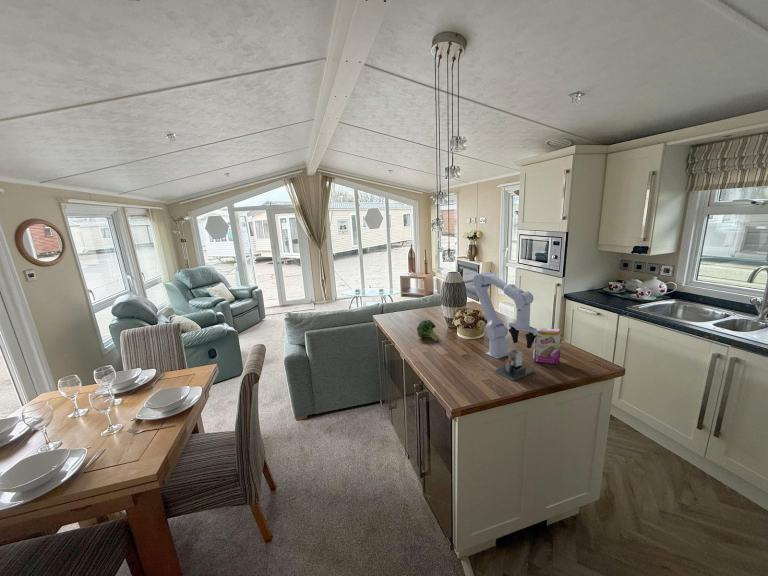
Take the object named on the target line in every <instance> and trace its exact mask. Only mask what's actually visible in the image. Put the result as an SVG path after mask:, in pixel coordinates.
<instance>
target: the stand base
mask: <svg viewBox="0 0 768 576" xmlns="http://www.w3.org/2000/svg"><path fill="white" fill-rule="evenodd" d="M508 359H509V358H507V359H505V365H504V366H503V367H500V368H498V369H495V373H496V374H498V375H501V376H503V377H505V378H507V379H509V380H510V381H512V382H514V381H517V380H519V379H522V378H524V377H526V376H527V377H528V376H529V375H532V374H534V373H535V369H533V368H530V367H528V366H525V365H523V364H522V365H520V366H517V367H515V366H512V365H511V362H512V361H511V360H508Z"/></svg>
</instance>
